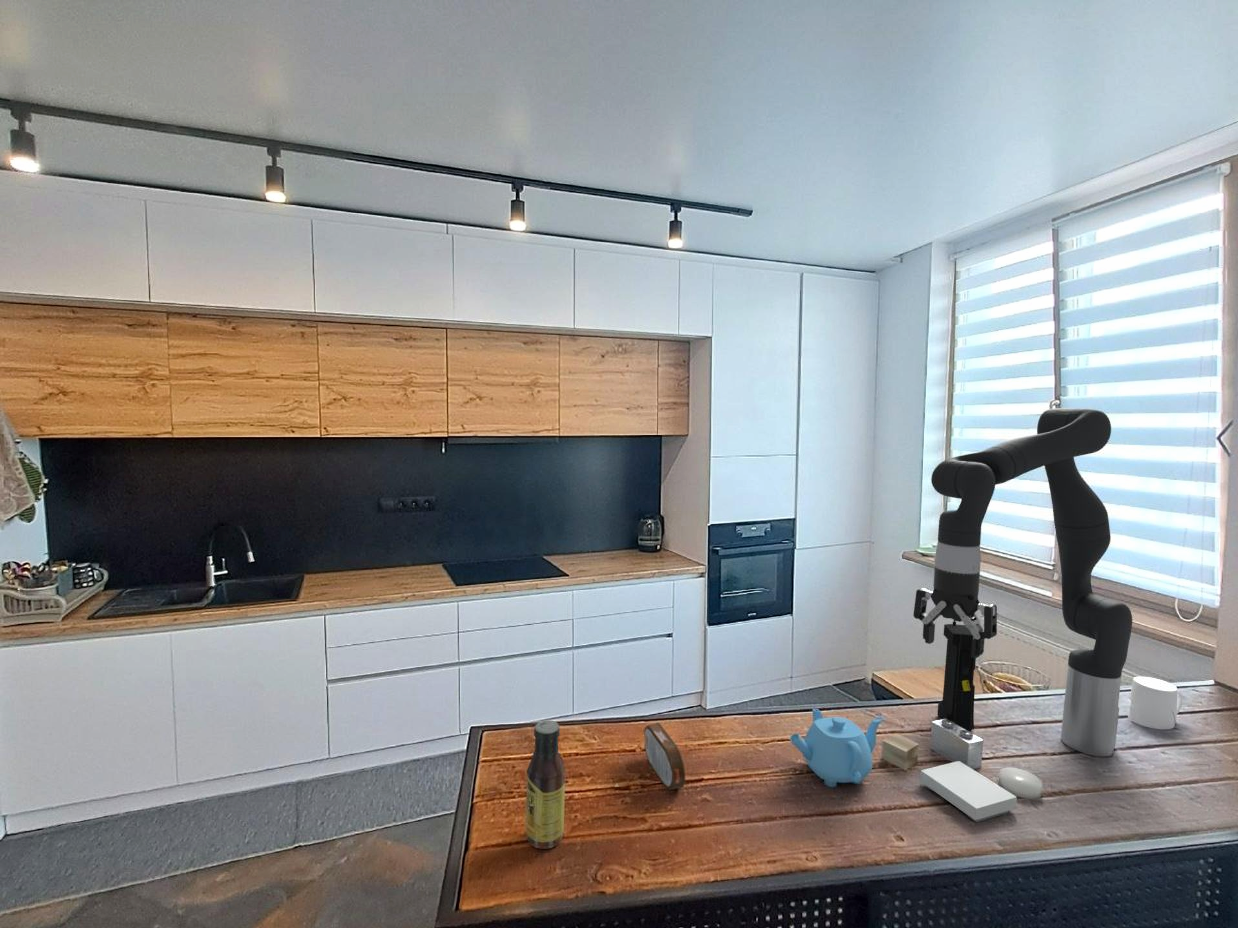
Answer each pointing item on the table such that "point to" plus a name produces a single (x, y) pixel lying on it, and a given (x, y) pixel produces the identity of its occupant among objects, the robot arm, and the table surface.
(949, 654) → the portable radio
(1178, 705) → the mug
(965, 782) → the stand
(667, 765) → the tin
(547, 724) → the sauce bottle
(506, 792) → the table surface
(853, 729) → the teapot
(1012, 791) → the glossy white pebble
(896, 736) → the oak block
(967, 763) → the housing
